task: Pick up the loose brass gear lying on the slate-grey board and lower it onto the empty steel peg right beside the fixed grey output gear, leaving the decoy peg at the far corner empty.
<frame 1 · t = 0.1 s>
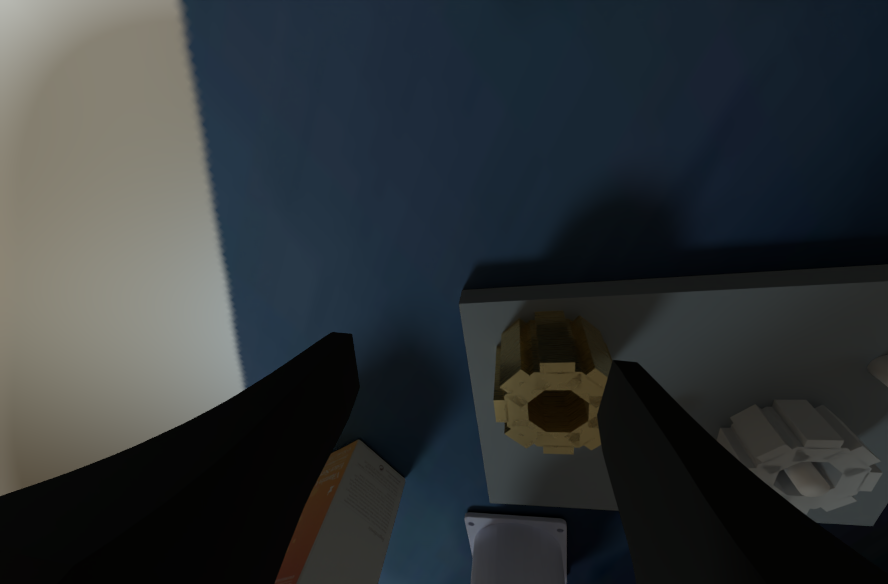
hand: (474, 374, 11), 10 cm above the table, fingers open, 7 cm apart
brass gear: (549, 355, 20), point 1 cm above the table, touching gear board
gear board: (671, 403, 22), on the table
small box: (351, 470, 31), on the table
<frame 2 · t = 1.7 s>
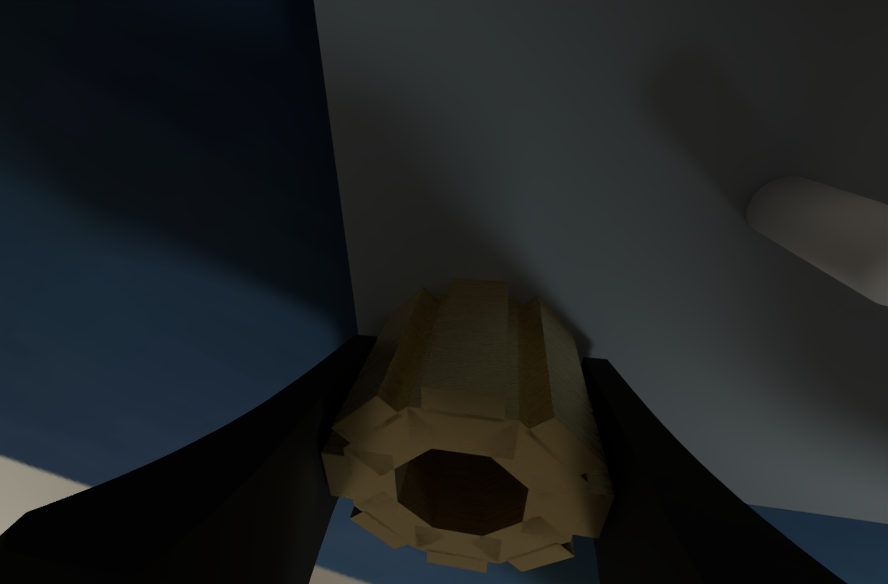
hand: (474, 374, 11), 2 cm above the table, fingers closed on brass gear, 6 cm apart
brass gear: (475, 364, 11), point 1 cm above the table, touching gear board, gripper
gear board: (726, 92, 8), on the table
when the fingers open (4 cm above the table, at t = 5.3 s): brass gear drops 1 cm, resting on gear board.
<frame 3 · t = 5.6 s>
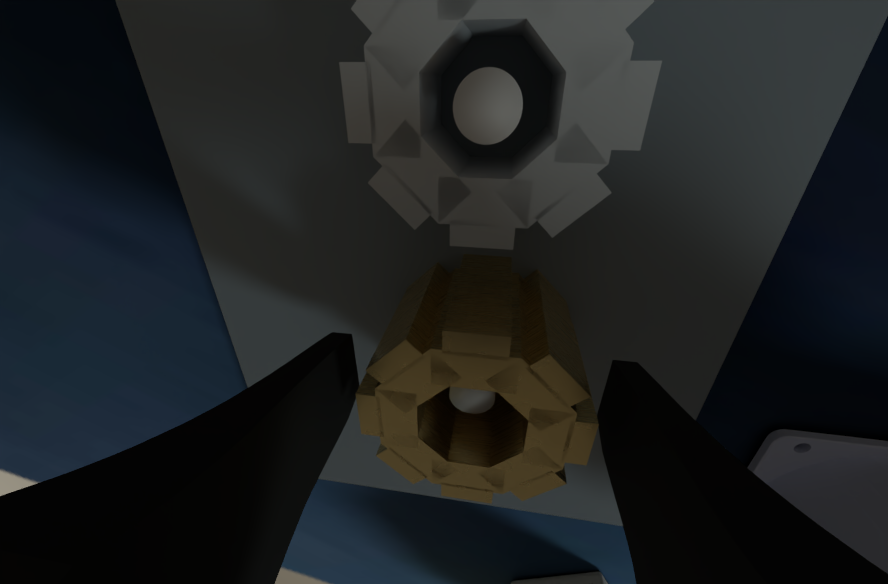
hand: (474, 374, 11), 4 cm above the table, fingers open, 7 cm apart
brass gear: (482, 333, 12), point 1 cm above the table, touching gear board
gear board: (457, 255, 13), on the table
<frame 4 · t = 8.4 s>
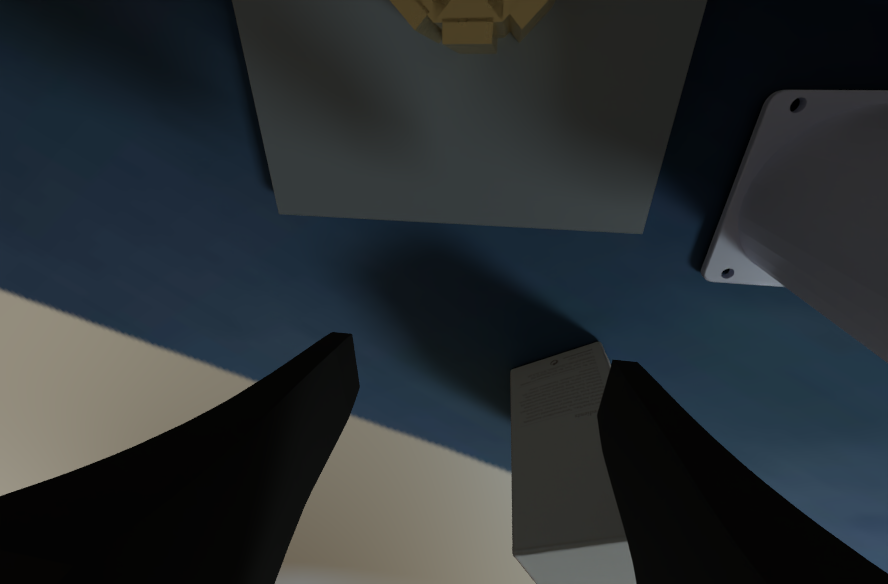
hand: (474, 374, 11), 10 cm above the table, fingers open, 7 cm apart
small box: (577, 397, 23), on the table
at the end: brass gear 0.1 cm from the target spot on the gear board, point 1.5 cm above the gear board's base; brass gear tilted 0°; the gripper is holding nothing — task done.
